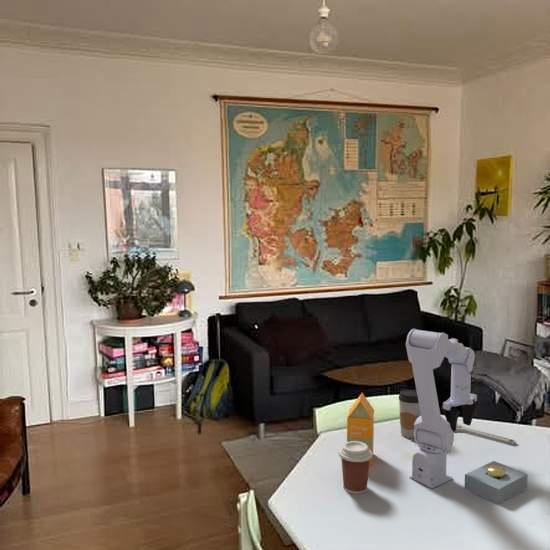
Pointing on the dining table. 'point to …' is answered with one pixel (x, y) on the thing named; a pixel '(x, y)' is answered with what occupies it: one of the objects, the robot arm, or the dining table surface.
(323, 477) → the dining table surface
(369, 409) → the orange juice
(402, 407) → the coffee cup
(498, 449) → the dining table surface
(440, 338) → the robot arm
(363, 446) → the coffee cup
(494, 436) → the adjustable wrench
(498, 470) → the brass door knob
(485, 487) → the block
